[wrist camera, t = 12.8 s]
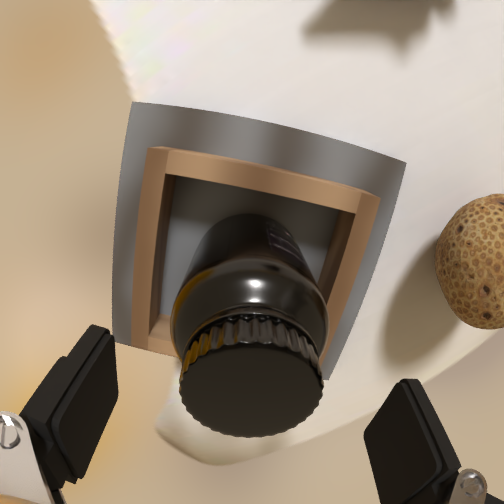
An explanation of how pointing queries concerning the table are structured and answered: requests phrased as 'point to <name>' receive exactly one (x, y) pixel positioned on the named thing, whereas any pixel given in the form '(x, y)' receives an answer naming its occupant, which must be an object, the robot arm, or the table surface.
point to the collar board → (242, 211)
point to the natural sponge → (474, 262)
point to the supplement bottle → (249, 330)
